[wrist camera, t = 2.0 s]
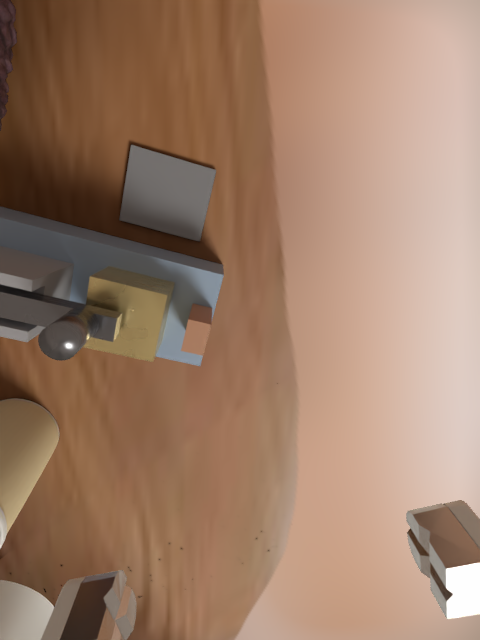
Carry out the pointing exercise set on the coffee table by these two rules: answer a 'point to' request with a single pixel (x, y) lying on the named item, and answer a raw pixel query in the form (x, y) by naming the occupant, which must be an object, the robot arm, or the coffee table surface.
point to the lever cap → (131, 310)
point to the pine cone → (6, 49)
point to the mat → (166, 193)
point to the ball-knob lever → (59, 320)
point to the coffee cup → (22, 454)
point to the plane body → (95, 255)
